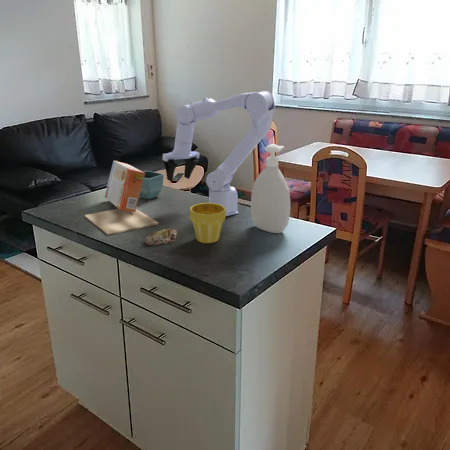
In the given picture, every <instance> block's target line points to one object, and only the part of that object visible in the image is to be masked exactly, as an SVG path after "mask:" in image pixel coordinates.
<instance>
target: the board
mask: <svg viewBox="0 0 450 450" xmlns="http://www.w3.org/2000/svg"><path fill="white" fill-rule="evenodd" d="M84 217H85V218H86V219H87V220H89V221H90V222H91V223H92V224H93V225H95V226H96V227H97V229H99V230H101V232H103V233H104V234H105V235H107V236H111V235H117V234H122V233H127V232H130V231H131V232H132V231H135V230H139V229H140V230H141V229H143V228H144V229H145V228H149V227H153V226H158V225H159V222H158V221H157V220H154V219H153V218H152V217H150V216H149V215H147V214H146V213H144V212H142V211H140V210H138V209H137V208H136V211H135V212H130V211H125V210H120V209H118V208H115V209H110V210H104V211H98V212H94V213H88V214H85V215H84Z"/></svg>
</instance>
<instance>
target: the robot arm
mask: <svg viewBox="0 0 450 450" xmlns="http://www.w3.org/2000/svg"><path fill="white" fill-rule="evenodd" d="M237 107H239V108H241V109H243V110H247V112H248V114H249V115H250V116H249V117H250V118H251V122H252V127H251V128H250V129H249V130H248V131H247V133H246V134H245V135H244V137H243V138H242V139H241V140H240V141H239V142H238V144H237V145H236V146H235V147H234V148H233V150H232V151H231V152H230V153H229V155H228V156H227V157H226V158H225V159H224V161H223V162H222V163H221V164H220V165H219V166H218V167H216V169H214V171H212V172H210V173H208V174H207V175H206V179H205V183H206V185H207V187H208V203H215V204H220V205H222V206H224V207H225V209H226V215H225V217H229V216H233V215H237V214H239V211H238V203H239V202H238V191H237V189H236V188H235V187H234V186H231V185H230V184H231V182H233V178H234V175H235V174H236V172H237V169H238V168H239V167H240V166H241V164H243V162H244V161H245V160H246V158H247V157H249V155H250V154H251V153H252V152H253V150H254V149H255V148H256V146H258V144H259V143H260V142H261V141H262V139H263V138H265V136H266V135H267V134H268V133H269V131H270V130H271V127H272V122H273V116H274V111H275V109H276V105H275V100H274V96H273V94H272V93H271V92H269V91H268V90H261V91H259V92H257V91H252V92H244V93H238V94H236V95H232V96H229V97H227V98H224V99H223V98H222V99H219V100H217V101H216V100H215V99H213V98H211V97H210V98H208V97H204V98H203V97H202V100H200V101H195V102H194V101H190V102H189V104H185V105H183V104H182V105H181V106H179V107H177V109H176V111H175V118H176V120H177V124H176V131H175V132H176V133H175V139H174V147H173V149H172V151H170V152H168V153H162V163H163V165H164V169H165V172H166V180H168V181H170V182H172V181H173V180H174V175H175V170H176V168H177V166H178V164H177V162H175V161H178V160H184V174H183V177H184V178H185V179H187V180H188V179H191V175H192V174H193V172H194V169H195V168H196V166H197V165H198V164H199V162H200V161H199V159H200V152H198V151H195V150H194V151H192V146H193V138H194V132H195V124H196V121H202V120H205V119H209V118H214V117H216V116H217V114H218V112H219V111H220V112H221V111H224V110H225V111H226V110H229V109H232V108H237Z"/></svg>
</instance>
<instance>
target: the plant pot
mask: <svg viewBox="0 0 450 450" xmlns="http://www.w3.org/2000/svg"><path fill="white" fill-rule="evenodd" d="M225 215H226V209H225V207H224V206H222V205H220V204H215V203H209V202H201V203H195V204H193V205H192V206H190V208H189V219H190V221H191V222H192V225H193V229H194V233H195V238H196V240H197V242H199V243H203V244H212V243H216V242H218V241H219V239H220V235H221V231H222V228H223V224H224V222H225V220H226V216H225Z"/></svg>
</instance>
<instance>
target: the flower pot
mask: <svg viewBox="0 0 450 450" xmlns="http://www.w3.org/2000/svg"><path fill="white" fill-rule="evenodd" d="M143 172H144V173H145V176H144V179H143V183H142V187H141V191H140V195H139V199H145V200H153V199H155V198H157V197H159V195H160V193H161V192H162V189H163V187H164V186H163V185H164V177H165V175H164V173H162V172H156V171H152V170H151V171H150V170H145V171H143Z"/></svg>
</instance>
